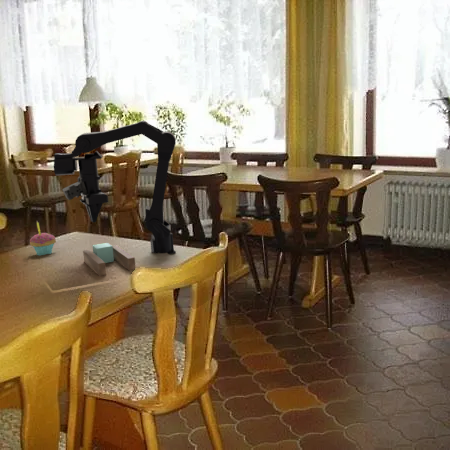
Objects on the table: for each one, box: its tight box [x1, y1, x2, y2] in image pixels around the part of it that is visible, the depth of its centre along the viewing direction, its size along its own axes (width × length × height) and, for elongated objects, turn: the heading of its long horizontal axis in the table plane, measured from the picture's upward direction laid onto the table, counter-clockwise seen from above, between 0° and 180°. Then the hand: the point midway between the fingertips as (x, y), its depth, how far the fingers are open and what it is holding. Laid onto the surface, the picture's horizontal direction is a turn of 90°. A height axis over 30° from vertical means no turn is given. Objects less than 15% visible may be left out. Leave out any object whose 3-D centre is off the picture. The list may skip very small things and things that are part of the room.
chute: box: [82, 244, 137, 277], centre depth 199 cm, size 11×18×4 cm, turn 26°
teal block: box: [92, 242, 115, 264], centre depth 204 cm, size 5×5×5 cm
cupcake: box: [29, 220, 57, 256], centre depth 219 cm, size 9×8×12 cm
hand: (93, 221), depth 209 cm, fingers closed
